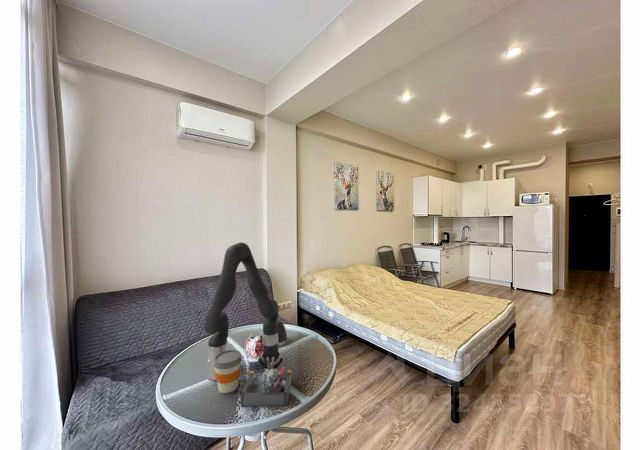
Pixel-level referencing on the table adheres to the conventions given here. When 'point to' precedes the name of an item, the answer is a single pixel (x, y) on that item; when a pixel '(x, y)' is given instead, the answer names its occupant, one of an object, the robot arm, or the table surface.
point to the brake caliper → (274, 379)
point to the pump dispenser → (281, 333)
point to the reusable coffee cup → (227, 370)
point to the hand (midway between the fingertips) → (271, 376)
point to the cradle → (265, 394)
